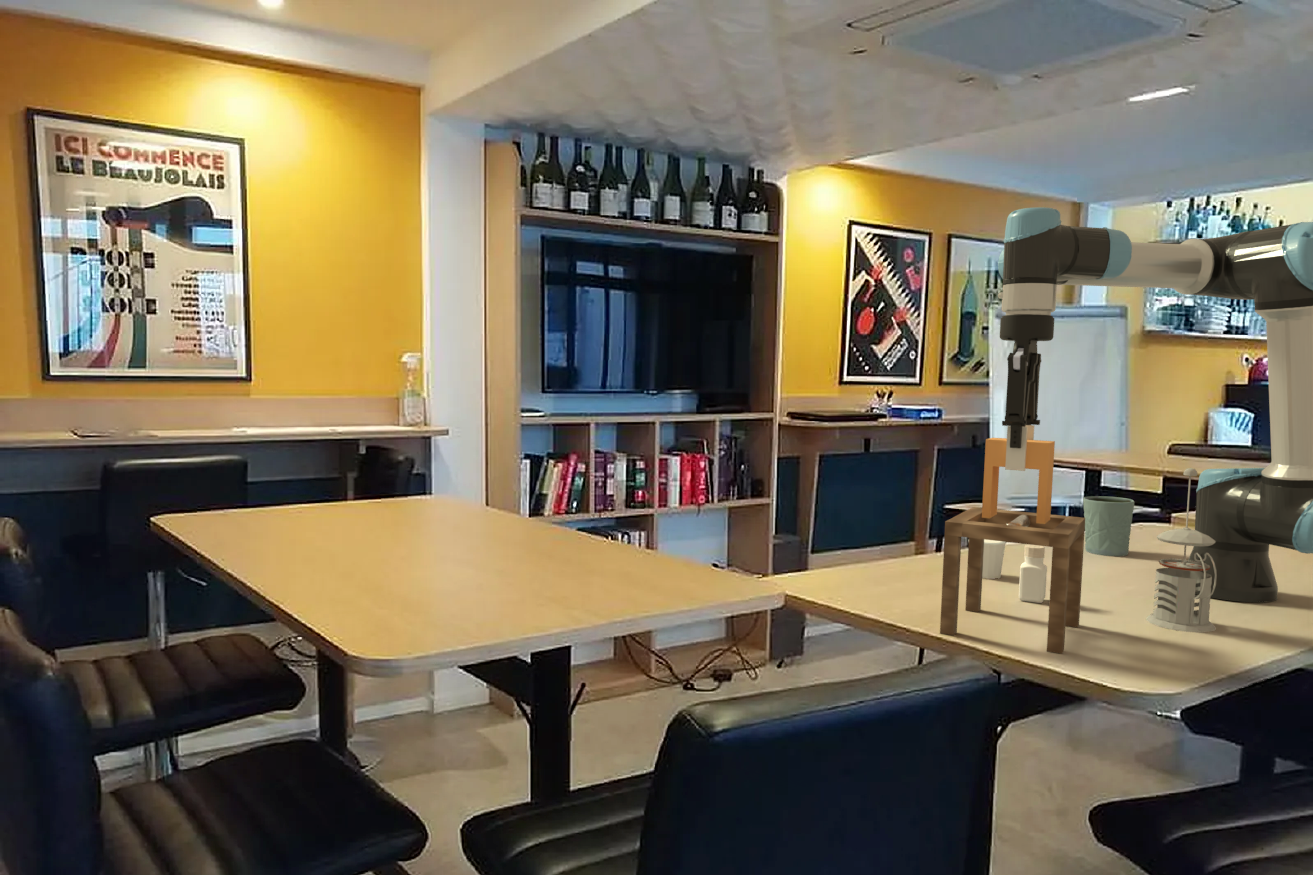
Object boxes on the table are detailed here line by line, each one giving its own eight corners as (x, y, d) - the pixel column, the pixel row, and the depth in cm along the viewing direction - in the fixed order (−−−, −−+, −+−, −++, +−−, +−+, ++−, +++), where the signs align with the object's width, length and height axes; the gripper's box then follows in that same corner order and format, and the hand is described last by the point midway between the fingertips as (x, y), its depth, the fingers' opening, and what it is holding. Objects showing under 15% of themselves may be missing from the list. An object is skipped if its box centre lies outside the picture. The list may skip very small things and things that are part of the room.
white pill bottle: (1042, 604, 156) (1045, 549, 156) (1017, 601, 158) (1020, 546, 158) (1045, 599, 160) (1048, 545, 159) (1021, 596, 162) (1024, 543, 161)
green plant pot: (1139, 557, 198) (1143, 502, 197) (1092, 556, 199) (1096, 501, 198) (1117, 548, 209) (1120, 496, 208) (1072, 547, 209) (1075, 495, 208)
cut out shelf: (1079, 624, 144) (1085, 517, 143) (1062, 653, 129) (1068, 534, 128) (968, 607, 153) (973, 507, 152) (939, 633, 138) (945, 521, 137)
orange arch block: (1050, 519, 139) (1054, 441, 139) (1044, 524, 135) (1049, 443, 134) (988, 513, 144) (992, 437, 143) (981, 517, 140) (985, 439, 139)
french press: (1191, 615, 151) (1201, 465, 149) (1238, 636, 140) (1250, 473, 138) (1133, 614, 151) (1142, 464, 149) (1175, 635, 139) (1186, 472, 138)
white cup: (1006, 580, 174) (1008, 544, 173) (969, 578, 175) (970, 542, 174) (1000, 573, 180) (1002, 537, 180) (964, 570, 182) (966, 535, 181)
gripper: (1012, 317, 147) (1004, 462, 149) (988, 310, 132) (979, 471, 133) (1063, 317, 143) (1054, 465, 145) (1044, 310, 128) (1034, 475, 129)
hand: (1018, 468), depth 139 cm, fingers closed on orange arch block, 5 cm apart
